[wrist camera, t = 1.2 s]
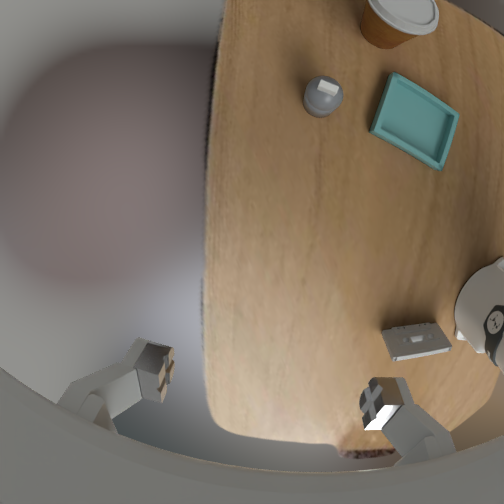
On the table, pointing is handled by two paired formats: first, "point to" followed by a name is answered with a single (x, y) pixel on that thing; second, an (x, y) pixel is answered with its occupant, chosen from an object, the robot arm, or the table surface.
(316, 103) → the gray bottle
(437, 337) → the cassette
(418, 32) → the disposable coffee cup
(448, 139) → the tray
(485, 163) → the table surface
